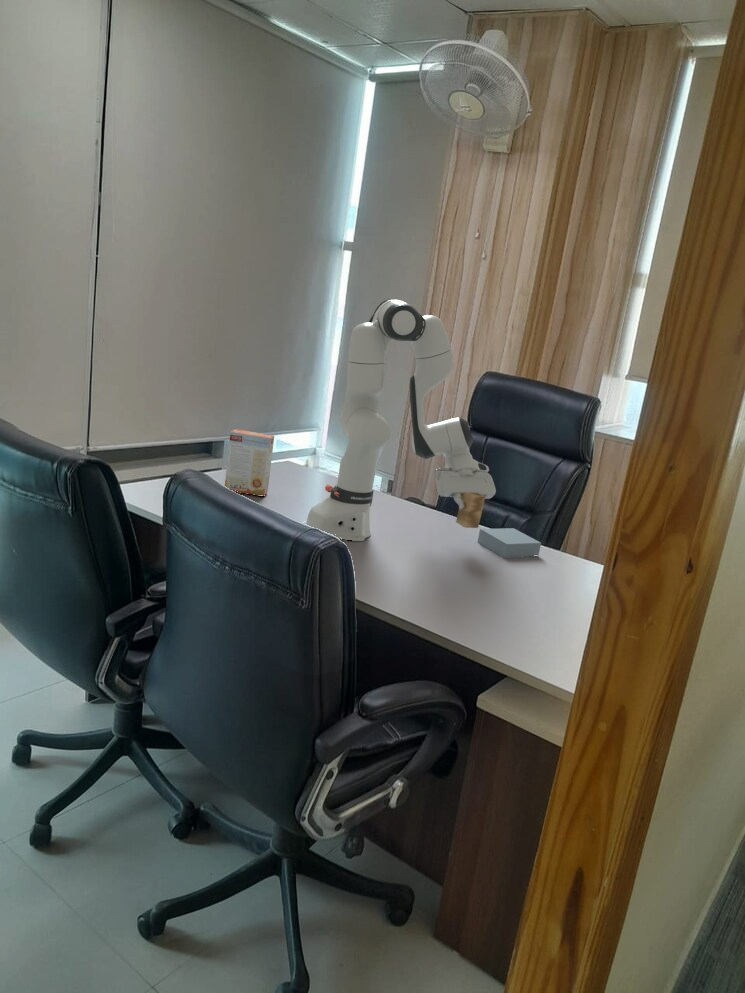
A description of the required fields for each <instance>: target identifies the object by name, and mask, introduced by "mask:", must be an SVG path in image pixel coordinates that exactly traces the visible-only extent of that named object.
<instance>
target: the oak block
mask: <svg viewBox="0 0 745 993" xmlns="http://www.w3.org/2000/svg"><path fill="white" fill-rule="evenodd" d="M460 498H461V499H462V501H463V502H466V506H467V507H466V508H465V509H460V508H459V507H458V512H457V516H456V520H455V522H456V523H457V524H458V525H460V526H462V527H463V528H466V529H467V528H470V529H478V528H479V525H480V522H481V518H482V513H483V509H484V504H485V500H486V499H485V497H484V496H482V495H481V494H479V493H470V492H464V493H462V497H460Z"/></svg>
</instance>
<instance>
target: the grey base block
mask: <svg viewBox="0 0 745 993" xmlns="http://www.w3.org/2000/svg"><path fill="white" fill-rule="evenodd" d="M477 543H478V544H479V545H481V546H483V547H484V548H487V549H488V550H490V551H491V552H493V553H494V554H496V555H498V556H500V557H501V558H504V559H508V558H509V559H511V557H515V558H525V557H524V556H534V555H538V556H539V554H540V550H541V546H542V542H541V541H538V540H536V539H535V538H533V537H531V536H530V535H527V534H526V533H524V532H521V531H520V530H518V529H516V528H514V527H513V528H512V527H510V528H509V527H508V528H507V527H506V528H479V533H478V536H477ZM522 556H523V557H522Z"/></svg>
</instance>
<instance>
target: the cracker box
mask: <svg viewBox="0 0 745 993" xmlns="http://www.w3.org/2000/svg"><path fill="white" fill-rule="evenodd" d="M274 442H275V435H273V434H266V433H261V432H255V431H249V430H242V429H236V428H235V429H233V430H231V431H230V434H229V443H228V449H227V450H228V451H227V452H228V453H227V461H226V470H225V480H224V487H225V486H226V487H227V488H229V489H230V490H233V491H235V490H236V491H235V492H237V491H238V492H237V493H236V494H241V493H248V494H255V495H263V496H264V495H265V494H266V493H267V492H269V486H270V485H269V484H270V474H271V469H272V468H271V466H272V461H273V460H272V458H273V450H274ZM235 492H234V493H235ZM239 492H241V493H239ZM267 494H268V493H267ZM267 494H266V495H267ZM266 495H265V496H266Z"/></svg>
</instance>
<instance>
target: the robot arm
mask: <svg viewBox="0 0 745 993" xmlns="http://www.w3.org/2000/svg"><path fill="white" fill-rule="evenodd" d="M392 340H394V341H398V342H409V343H410V344H411V348H413V354H414V358H415V359H414V360H415V371H414V372H413V373H414V374H412V376H410V378H409V403H410V406H409V408H410V416H411V428H412V429H411V430H412V431H411V447H412V451H413V452H414V454H415V455H416V457H417V456H418V457H419V458H421V459H425V460H428V459H430V458H434V457H436V456H438V455H443V457H444V464H445V467H437V468H436V469H435V470H434V476H435V479H436V480H435V482H436V490H437V494H438V495H439V496H440V497H446V498H447V497H450V498H453V500H454V502H455V503H456V504H457V505H458V509H459V508H460V509H465V508H466V507H467V506H466V502H463V501H462V499H461V497H462V493H464V492H470V493H479V494H481V495H482V496H484V497H485V500H490V499H492V498H493V497H494V496H495V495H496V492H497V489H496V486H495V483H494V479H493V477H492V475H491V474H490V473H489V471H490V467H489V466H488V465H486V464H484V463H482V462H479V461H478V460H476V459H474V458H473V455H472V454H471V452H470V448H471V446H472V444H473V443H474V438H473V435H472V432H471V430H470V428H471V427H470V423H469V422H468V420H465V419H464V418H462V417H454V418H450V419H446V420H442V421H440V422H435V423H432V424H425V423H426V422H425V410H424V409H425V408H424V401H425V398H426V396H427V394H429V393H430V392H431V391H432V390H433V389H435V388H436V387H438V386H440V385H441V383H443V382H445V380H446V379H447V378H448V377H449V376H450V375H451V373H452V371H453V368H454V354H453V350H452V347H451V346H452V345H451V341H450V338H449V335H448V332H447V331H446V329H445V325H444V324H443V321H442V320H441V319H440V318H439V317H438V316H437V315H430V314H429V315H428V314H427V315H422V314H421V313H420V312H419V311H418V310H417V309H416V308H415V307H414V306H412V305H411V304H409V303H408V302H406V301H404V300H401V299H395V298H389V299H386V300H383V301H382V302H380V303H379V305H377V307H376V309H375V310H374V312H373V313H372V315H371V317H370V319H369V320H368V322H363V323H359V324H358V325H356V326H355V327H354V328H353V329H352V332H351V336H350V341H349V344H348V345H349V347H348V355H347V356H348V357H347V377H346V378H347V381H346V391H345V395H344V396H345V397H344V401H343V408H342V411H341V414H340V419H339V421H340V427H341V429H342V431H343V433H344V434H345V436H347V437H348V443H347V446H346V450H345V452H344V454H343V457H341V460H340V462H339V469H338V476H337V482H336V484H335V485H334V486H331V485H330V484H326V485H325V487H324V490H325V492H327V493H330V495H329V496H327V497H326V498H324V500H321V502H318V503H317V504H315V505H313V506H312V507H311V508H310V509H309V512H308V515H307V518H306V520H303V521H304V522H306V523H305V524H307V525H309V526H311V527H314V528H318V529H320V530H322V531H325V532H327V533H330V534H333V535H334V536H336V537H338V538H339V539H341V538H342V539H347V540H352V541H351V542H364V541H365V539H366V538H369V537H370V536H371V534H372V533H371V527H370V524H371V523H370V521H371V520H370V518H371V517H370V512H371V506H372V503H373V499H374V498H373V497H374V482H375V478H376V477H375V476H376V471H377V465H378V462H379V461H380V457H381V455H382V452H383V449H384V447H385V445H387V443H388V442H389V440H390V436H391V429H390V426H389V424H388V422H387V420H386V418H384V416H383V415H381V414H380V413H379V405H380V402H381V397H382V393H383V392H384V391H385V384H386V382H385V380H386V379H385V378H386V358H387V357H386V352H387V349H388V345H389V343H390V342H391V341H392ZM304 522H302V523H304ZM335 534H336V535H335ZM340 537H341V538H340ZM342 539H341V540H340V541H343V540H342ZM347 540H346V541H347Z"/></svg>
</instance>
